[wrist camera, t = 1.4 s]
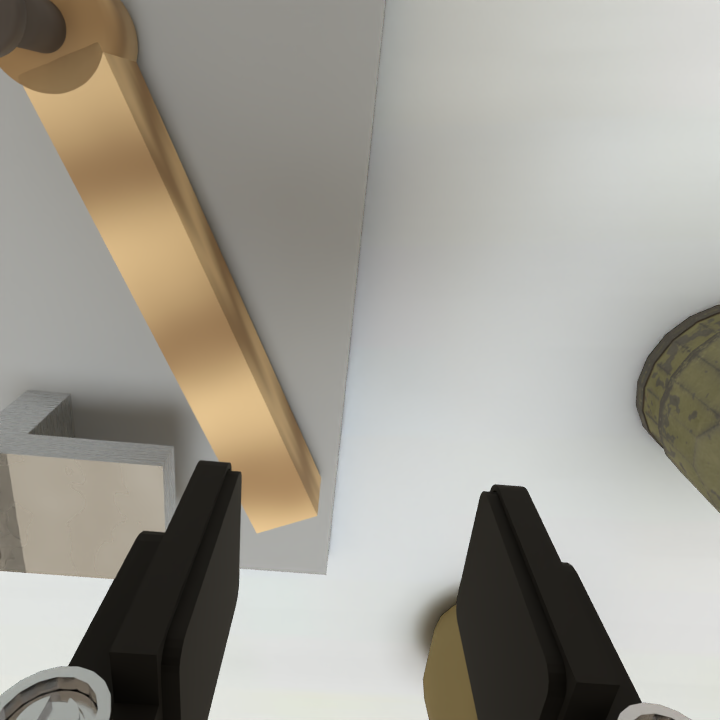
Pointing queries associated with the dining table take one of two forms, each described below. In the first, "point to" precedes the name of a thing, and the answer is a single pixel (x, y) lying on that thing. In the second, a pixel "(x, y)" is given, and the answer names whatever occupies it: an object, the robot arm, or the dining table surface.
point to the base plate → (227, 222)
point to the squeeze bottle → (447, 674)
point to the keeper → (75, 492)
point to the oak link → (160, 240)
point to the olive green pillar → (686, 400)
